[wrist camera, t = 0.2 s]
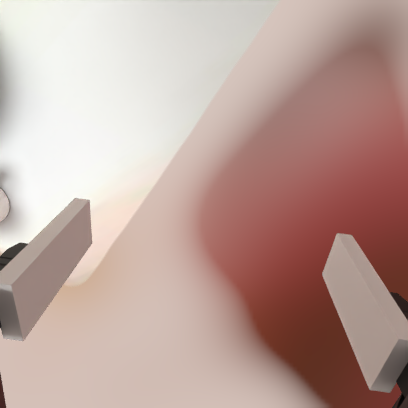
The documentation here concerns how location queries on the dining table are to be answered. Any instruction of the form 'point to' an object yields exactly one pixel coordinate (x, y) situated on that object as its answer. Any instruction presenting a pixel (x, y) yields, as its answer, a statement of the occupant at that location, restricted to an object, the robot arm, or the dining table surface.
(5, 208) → the mug
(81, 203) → the robot arm
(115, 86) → the dining table surface
